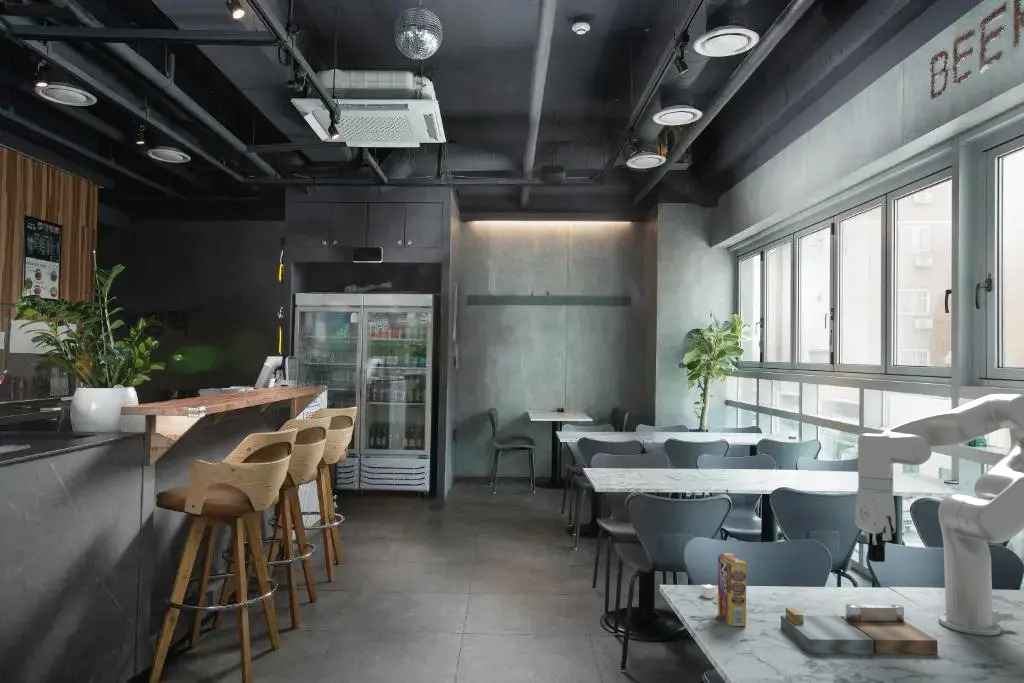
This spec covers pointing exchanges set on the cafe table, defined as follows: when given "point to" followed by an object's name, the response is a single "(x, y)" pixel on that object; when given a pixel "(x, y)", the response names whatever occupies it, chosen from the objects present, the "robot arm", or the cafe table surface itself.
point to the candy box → (732, 589)
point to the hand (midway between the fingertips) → (876, 560)
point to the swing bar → (874, 612)
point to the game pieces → (709, 592)
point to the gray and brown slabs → (855, 635)
